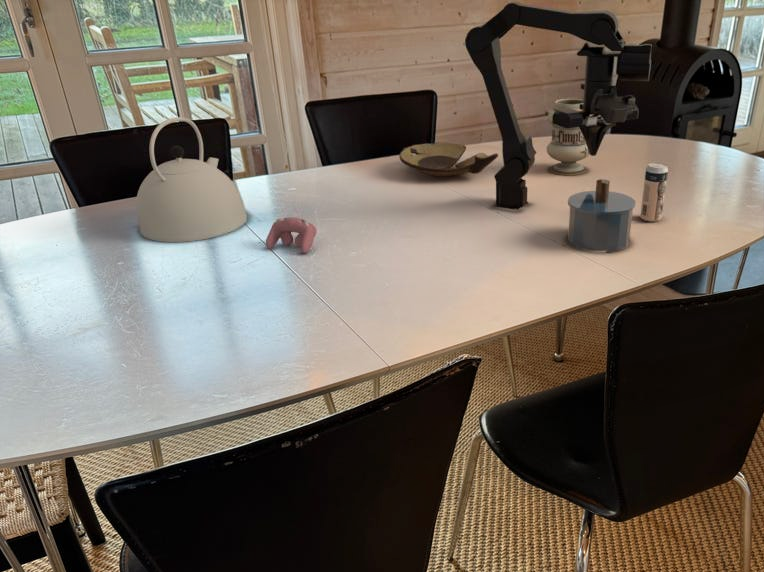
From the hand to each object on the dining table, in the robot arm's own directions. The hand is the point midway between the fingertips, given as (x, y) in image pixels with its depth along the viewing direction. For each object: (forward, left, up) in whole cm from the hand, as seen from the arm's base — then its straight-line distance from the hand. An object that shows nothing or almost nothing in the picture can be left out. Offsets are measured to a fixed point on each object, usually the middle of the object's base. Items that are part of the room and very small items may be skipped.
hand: (592, 155), depth 146 cm
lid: (+8, -16, -5) cm, 18 cm away
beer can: (+14, +2, -13) cm, 19 cm away
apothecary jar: (-17, +30, -13) cm, 37 cm away
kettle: (-77, -45, -13) cm, 90 cm away
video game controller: (-47, -47, -13) cm, 68 cm away
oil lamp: (-45, +12, -13) cm, 48 cm away
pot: (+8, -16, -13) cm, 22 cm away
